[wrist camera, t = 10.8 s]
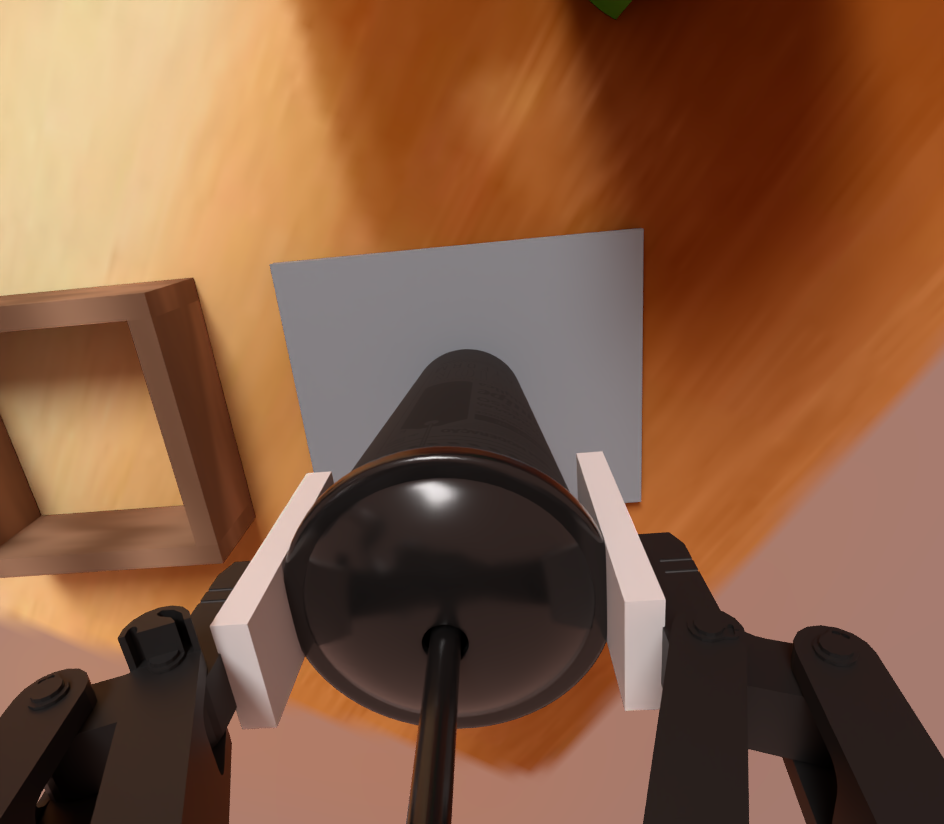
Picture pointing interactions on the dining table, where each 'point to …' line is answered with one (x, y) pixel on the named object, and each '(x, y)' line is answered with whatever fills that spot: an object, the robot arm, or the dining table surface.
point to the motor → (611, 6)
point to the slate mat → (474, 339)
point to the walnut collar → (183, 429)
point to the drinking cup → (450, 570)
